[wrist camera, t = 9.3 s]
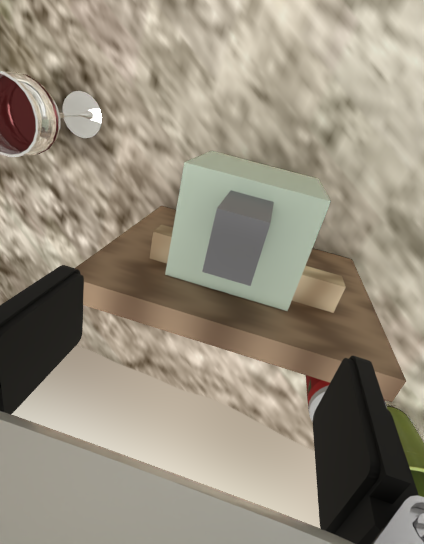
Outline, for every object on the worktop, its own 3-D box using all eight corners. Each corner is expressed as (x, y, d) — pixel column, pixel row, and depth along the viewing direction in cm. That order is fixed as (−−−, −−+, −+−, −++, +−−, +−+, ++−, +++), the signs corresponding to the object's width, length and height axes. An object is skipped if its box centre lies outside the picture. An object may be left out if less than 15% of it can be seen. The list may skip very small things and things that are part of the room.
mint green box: (318, 178, 29) (342, 223, 17) (287, 264, 33) (287, 352, 21) (211, 150, 30) (158, 173, 17) (193, 238, 34) (140, 306, 21)
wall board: (360, 240, 37) (426, 352, 20) (326, 313, 42) (354, 455, 25) (164, 186, 39) (64, 243, 22) (153, 261, 44) (64, 358, 27)
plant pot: (434, 395, 44) (476, 476, 34) (419, 454, 49) (452, 539, 39) (342, 388, 47) (356, 462, 37) (336, 444, 52) (348, 522, 42)
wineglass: (51, 79, 37) (-44, 65, 26) (106, 83, 36) (30, 70, 25) (59, 143, 40) (-23, 154, 29) (111, 148, 39) (45, 161, 28)
